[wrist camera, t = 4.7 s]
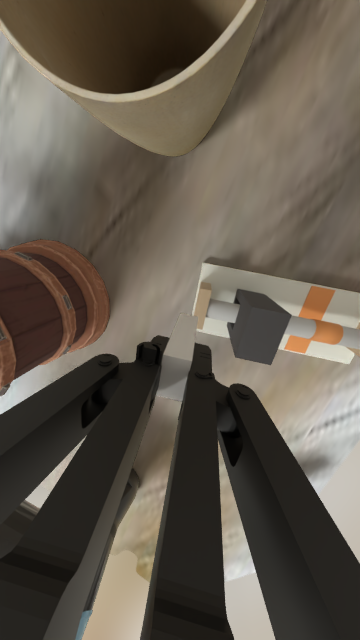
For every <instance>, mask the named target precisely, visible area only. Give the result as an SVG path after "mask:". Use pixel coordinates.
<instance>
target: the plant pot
mask: <svg viewBox="0 0 360 640" xmlns="http://www.w3.org/2000/svg"><path fill="white" fill-rule="evenodd" d="M266 3H267V0H0V30H1V31H2V32H3V34H4V35H5V36H6V37H7V39H8V40H9V41H10V43H11V44H12V45H13V46H14V47H15V49H16V50H17V51H18V52H19V53H20V54H21V55H22V57H23V58H24V59H25V60H26V61H27V62H28V63H30V64H31V65H32V66H33V67H34V68H35V69H36V70H37V71H38V72H40V73H41V74H42V75H43V76H45V77H46V78H47V79H48V80H50V81H51V82H52V83H53V84H54V85H55V86H57V87H58V88H59V89H60V90H61V91H63V92H64V93H65V94H66V95H68V96H69V97H70V98H71V99H73V100H74V101H75V102H76V103H78V104H79V105H80V106H81V107H83V108H84V109H85V110H86V111H88V112H89V113H90V114H91V115H93V116H94V117H95V118H96V119H98V120H99V121H100V122H102V123H103V124H105V125H106V126H107V127H109V128H110V129H111V130H113V131H114V132H116V133H117V134H119V135H121V136H122V137H124V138H125V139H127V140H129V141H131V142H132V143H134V144H136V145H138V146H140V147H142V148H144V149H146V150H149V151H151V152H154V153H157V154H160V155H165V156H181V155H184V154H186V153H188V152H190V151H191V150H193V149H194V148H195V147H196V146H197V145H198V144H199V143H200V142H201V140H202V139H203V138H204V137H205V135H206V134H207V133H208V131H209V130H210V128H211V127H212V125H213V124H214V122H215V120H216V119H217V117H218V115H219V113H220V112H221V110H222V108H223V106H224V104H225V102H226V100H227V98H228V96H229V94H230V92H231V90H232V88H233V85H234V83H235V81H236V79H237V77H238V74H239V72H240V70H241V67H242V65H243V63H244V60H245V58H246V55H247V53H248V50H249V48H250V46H251V43H252V40H253V38H254V35H255V32H256V30H257V27H258V24H259V22H260V19H261V16H262V14H263V11H264V8H265V5H266Z"/></svg>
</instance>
